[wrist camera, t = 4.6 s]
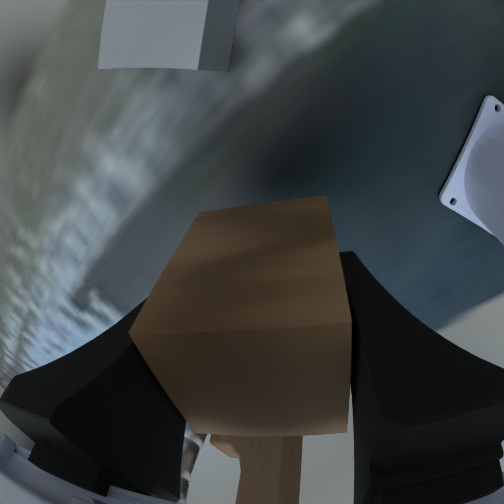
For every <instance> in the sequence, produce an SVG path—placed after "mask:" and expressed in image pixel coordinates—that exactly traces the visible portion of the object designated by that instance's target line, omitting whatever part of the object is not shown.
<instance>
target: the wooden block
mask: <svg viewBox="0 0 504 504" xmlns="http://www.w3.org/2000/svg"><path fill="white" fill-rule="evenodd" d="M302 438H303V436H234V435H216V434H211V438H210V443H211V444H212V445H214V446H215V447H216V448H218V449H219V450H220V451H222V452H223V453H225V454H226V455H228V456H229V457H233V458H239V459H240V468H241V474H240V480H239V486H238V492H237V498H236V504H299V492H300V476H301V459H302Z"/></svg>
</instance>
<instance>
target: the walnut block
mask: <svg viewBox="0 0 504 504" xmlns="http://www.w3.org/2000/svg"><path fill="white" fill-rule="evenodd" d="M128 333H129V335H130V337H131V338H132V340H133V342H134V343H135V345H136V347H137V348H138V350H139V352H140V353H141V355H142V356H143V358H144V360H145V361H146V363H147V364H148V366H149V368H150V369H151V371H152V372H153V374H154V375H155V377H156V378H157V380H158V381H159V383H160V384H161V386H162V387H163V389H164V390H165V392H166V393H167V395H168V396H169V397H170V399H171V400H172V402H173V403H174V405H175V406H176V407H177V409H178V410H179V412H180V413H181V414H182V416H183V417H184V418H185V420H186V421H187V422H188V424H189V425H190V426H191V428H192V429H193V430H194V432H195V433H203V434H216V435H234V436H303V435H321V434H334V433H344V432H347V424H348V411H349V396H350V376H351V344H352V320H351V314H350V308H349V302H348V297H347V291H346V286H345V280H344V275H343V270H342V265H341V260H340V255H339V250H338V246H337V241H336V236H335V232H334V227H333V223H332V219H331V214H330V210H329V206H328V202H327V197H326V195H325V196H316V197H308V198H300V199H292V200H284V201H276V202H269V203H261V204H254V205H247V206H240V207H233V208H227V209H220V210H214V211H207V212H201V213H199V214H198V215H197V217H196V218H195V220H194V222H193V223H192V225H191V226H190V228H189V230H188V231H187V233H186V234H185V236H184V238H183V239H182V241H181V242H180V244H179V246H178V247H177V249H176V251H175V252H174V254H173V256H172V257H171V259H170V261H169V262H168V264H167V266H166V267H165V269H164V271H163V272H162V274H161V276H160V277H159V279H158V281H157V283H156V284H155V286H154V288H153V289H152V291H151V293H150V295H149V296H148V298H147V300H146V302H145V303H144V305H143V307H142V309H141V311H140V312H139V314H138V316H137V318H136V319H135V321H134V323H133V325H132V327H131V329H130V330H129V332H128Z"/></svg>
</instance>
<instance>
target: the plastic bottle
mask: <svg viewBox="0 0 504 504" xmlns="http://www.w3.org/2000/svg"><path fill="white" fill-rule="evenodd" d="M206 436H207V434H203V433H195V432H194V430H193V429H192V428H191V426H190V425H189V424H188V422H186V429H185V436H184V443H183V453H182V464H181V481H180V500H179V501H178V502H177V503H182V504H186V500H187V493H188V488H189V482H190V477H191V473H192V470H193V468H194V465H195V462H196V459H197V456H198V454H199V450H200V449H201V447H202V446H203V444H204V441H205V439H206Z"/></svg>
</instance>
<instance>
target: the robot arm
mask: <svg viewBox="0 0 504 504" xmlns="http://www.w3.org/2000/svg"><path fill="white" fill-rule="evenodd" d="M495 105H497V110H496V111H495ZM452 198H454V201H453V202H452V203H450V200H451V199H452ZM439 199H440V202H441V203H442V204H444V205H445V206H447V207H449V208H450V209H452V210H454V211H455V212H457V213H459V214H460V215H462V216H464V217H465V218H467V219H469V220H470V221H472V222H474V223H475V224H477V225H478V226H480V227H482V228H483V229H485V230H486V231H488V232H489V233H491V234H492V235H494V236H495V237H496V238H497V239H498V240H499V241H500V242H501V243H502V244H503V245H504V105H503V104H502V103H501V102H500V101H499V100H497V99H496V98H495V97H493V96H490V95H488V96H486V97H485V98H484V101H483V103H482V106H481V108H480V111H479V113H478V115H477V118H476V120H475V122H474V125H473V127H472V129H471V132H470V134H469V136H468V138H467V140H466V143H465V145H464V147H463V149H462V151H461V153H460V155H459V157H458V159H457V161H456V163H455V165H454V167H453V169H452V171H451V173H450V175H449V177H448V179H447V181H446V183H445V185H444V187H443V189H442V191H441V192H440V195H439ZM339 255H340V260H341V265H342V270H343V275H344V280H345V286H346V291H347V297H348V302H349V308H350V314H351V320H352V344H351V376H350V386H351V394H352V407H353V427H354V504H504V473H503V474H502V470H501V466H500V461H499V459H501V458H502V457H503V449H502V445H501V442H502V441H503V440H504V369H503V368H501V367H499V366H497V365H494V364H492V363H490V362H488V361H485V360H483V359H481V358H479V357H477V356H475V355H473V354H471V353H469V352H468V351H466V350H464V349H462V348H460V347H458V346H457V345H455V344H453V343H452V342H450V341H448V340H447V339H445V338H444V337H442V336H441V335H439V334H438V333H436V332H435V331H433V330H432V329H430V328H429V327H428V326H426V325H425V324H424V323H422V322H421V321H420V320H418V319H417V318H416V317H415V316H413V315H412V314H411V313H410V312H409V311H408V310H406V309H405V308H404V307H403V306H402V305H401V304H400V303H399V302H398V301H397V300H396V299H395V298H394V297H393V296H392V295H391V294H390V293H389V292H388V291H387V290H386V289H385V288H384V287H383V286H382V285H381V284H380V283H379V282H378V281H377V280H376V279H375V277H374V276H373V275H372V274H371V273H370V272H369V270H368V269H367V268H366V267H365V266H364V264H363V263H362V262H361V260H360V259H359V258H358V256H357V255H356V254H355V253H354V252H353V251H348V252H339ZM147 298H148V297H147ZM147 298H146V299H145V300H144V301H143V302H142V303H141V304H139V305H138V306H137V307H136V308H134V309H133V310H132V311H131V312H130V313H128V314H127V315H126V316H125V317H123V318H122V319H121V320H120V321H118V322H117V323H116V324H114V325H113V326H112V327H110V328H109V329H108V330H106V331H105V332H103V333H102V334H100V335H99V336H97V337H96V338H94V339H93V340H91V341H89V342H88V343H86V344H84V345H83V346H81V347H79V348H78V349H76V350H74V351H72V352H71V353H69V354H67V355H65V356H63V357H61V358H59V359H57V360H55V361H52V362H50V363H48V364H46V365H43V366H41V367H39V368H36V369H33V370H31V371H28V372H25V373H22V374H20V375H16V376H15V377H14V378H13V379H12V380H11V381H10V383H9V385H8V386H7V388H6V389H5V391H4V393H3V394H2V396H1V398H0V409H1V411H2V412H3V413H4V414H5V416H6V417H7V418H8V419H9V420H10V421H11V422H12V423H14V424H15V425H16V426H17V427H18V428H19V429H20V430H21V431H22V432H23V433H25V434H26V435H27V436H28V437H29V438H30V439H32V440H33V441H34V442H35V445H34V447H33V449H32V451H31V452H30V451H28V450H26V449H24V448H22V447H20V446H18V445H17V444H16V443H15V442H14V441H13V440H12V439H10V438H9V437H8V436H7V435H6V434H4V433H3V432H2V431H0V504H182V503H177V502H178V501H179V500H180V481H181V464H182V453H183V443H184V436H185V429H186V422H187V421H186V420H185V418H184V417H183V416H182V414H181V413H180V412H179V410H178V409H177V407H176V406H175V405H174V403H173V402H172V400H171V399H170V397H169V396H168V395H167V393H166V392H165V390H164V389H163V387H162V386H161V384H160V383H159V381H158V380H157V378H156V377H155V375H154V374H153V372H152V371H151V369H150V368H149V366H148V364H147V363H146V361H145V360H144V358H143V356H142V355H141V353H140V352H139V350H138V348H137V347H136V345H135V343H134V342H133V340H132V338H131V337H130V335H129V333H128V332H129V330H130V329H131V327H132V325H133V323H134V321H135V319H136V318H137V316H138V314H139V312H140V311H141V309H142V307H143V305H144V303H145V302H146V300H147Z"/></svg>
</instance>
